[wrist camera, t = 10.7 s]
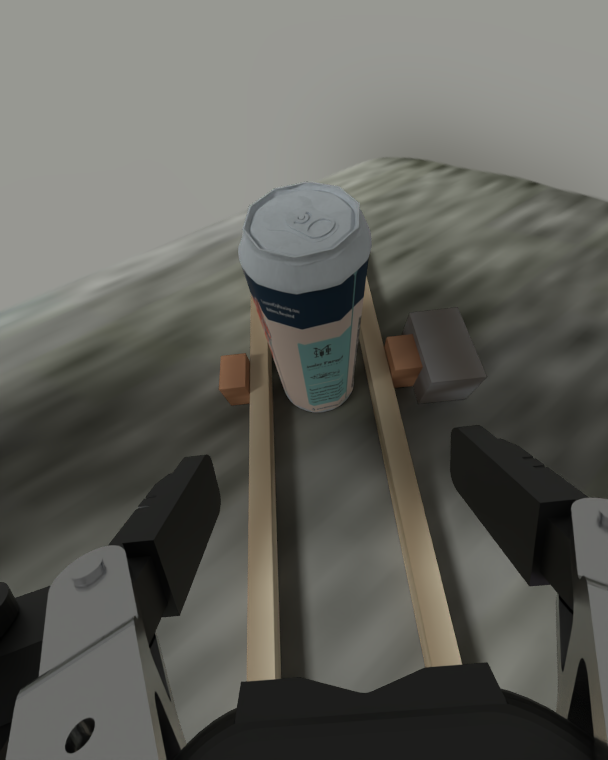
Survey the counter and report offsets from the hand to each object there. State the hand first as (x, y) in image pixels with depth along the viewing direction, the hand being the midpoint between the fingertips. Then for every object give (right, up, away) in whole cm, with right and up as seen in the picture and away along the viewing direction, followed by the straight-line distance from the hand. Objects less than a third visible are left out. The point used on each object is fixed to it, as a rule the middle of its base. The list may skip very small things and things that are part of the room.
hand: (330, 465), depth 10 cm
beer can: (0, +3, +11) cm, 11 cm away
